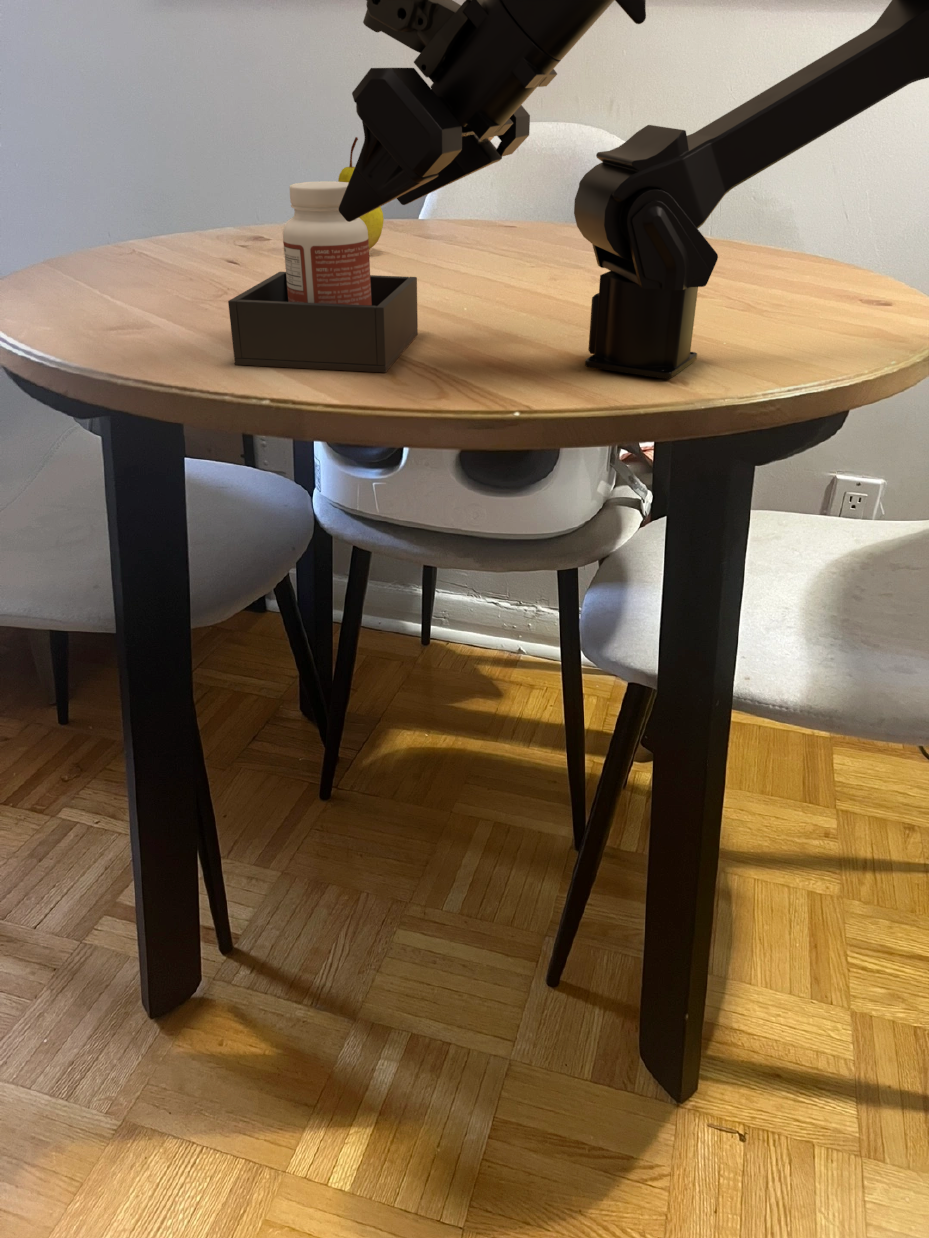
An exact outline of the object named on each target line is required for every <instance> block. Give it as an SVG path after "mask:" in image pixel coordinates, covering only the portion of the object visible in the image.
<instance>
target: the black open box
mask: <svg viewBox="0 0 929 1238" xmlns="http://www.w3.org/2000/svg"><path fill="white" fill-rule="evenodd" d="M370 282H371V302H372V305H349V304H326V303H304V302H289V300H288V289H287V277H286V271H278V272H277V273H275V274H273V275H270V276H269V277H267V278H266V279H265V280H262V281H261V282H259V283H257V284H256V285H254V286H252V287H250V288H248V289H246V290H245V291H243V292H241V293H239V294H238V295H236V296H234V297H233V298H231V299H229V300H228V301H227V303H228V313H229V321H230V322H229V323H230V332H231V340H232V349H233V350H232V351H233V358H234V365H235V366H254V367H270V368H271V367H274V368H289V369H291V368H292V369H310V370H327V371H329V370H330V371H345V372H346V371H349V372H364V373H381V374H382V373H385V374H386V373H387V372H388V370H389V369H390V368H391V367H393V365H394V363H395V362H396V361H397V360H398V359H399V357H400V356H401V355H402V354H403V353H404V352H405V351H406V349H407V348H408V347H409V346H410V344H412V343H413V341H414V340H415V339H416V338H417V337H418V334H419V328H418V327H419V326H418V323H419V321H418V320H419V319H418V277H417V276H403V275H401V276H400V275H376V274H375V275H374V274H370Z"/></svg>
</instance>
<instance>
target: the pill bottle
mask: <svg viewBox="0 0 929 1238" xmlns="http://www.w3.org/2000/svg"><path fill="white" fill-rule="evenodd" d="M347 186H348V182H338V181H333V180H332V181H329V180H328V181H305V182H296V183H292V184H289V199H290V200H289V202H290V208H292V209H293V210H294V214H293V216H292V217H291V218H289V219H288V220H287V221H286V222H285V224H284V225H283V228H282V243H283V254H284V265H285V266H284V267H285V272H286V277H287V289H288V300H289V302H304V303H326V304H349V305H372V302H371V282H370V275H371V264H370V262H371V261H370V249H369V240H368V230H367V227H366V225H365V223H364V222H363V221H362V220H361V219H360V218H357V219H355V220H353V221H351V222H348V221H346V219H345V218H344V217H343V216H342V215H341V214H340V212H339V206H340V203H341V201H342V198H343V196H344V193H345V191H346V188H347Z"/></svg>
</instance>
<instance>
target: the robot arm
mask: <svg viewBox="0 0 929 1238" xmlns="http://www.w3.org/2000/svg"><path fill="white" fill-rule="evenodd" d="M365 1H366V12H365V15H364V18H363V21H362V23H363V25H364V26H365V27H366V28H368V29H370V30H371V31H373V32H375V33H380V32H381V33H383V34H385V35H387V36H388V37H390V38H392V39H394V40H395V41H397V42H399V43H401V44H402V45H404V46H406V47H408V48H409V49H411V50H413V51H415V52H417V53H419V54H418V56H416V58H415V59H414V60H413V64H414V65H415V67H417V69H418V70H419V71H420V72H421V73H422V75H423V76H424V77H425V78H428V79H429V80H430V81H431V82H432V84H431V85H429V84H428V83H427V82H426V81H425V79H424V78H423V76H421V74H420V73H419V72H418V71H417V70H416V68H415V67H371V68H370V69H368V71H367V72H366V74H365V75H364V76H363V78H362V79H360V82H358V84H357V85H356V87H355V88H354V90H353V91H352V92H351V95H352V98H353V102H354V103H355V109H356V111H355V112H356V114H357V116H358V117H359V119H360V120H361V123H362V129H363V136H364V140H363V144H362V147H361V150H360V152H359V155H358V158H357V161H356V163H355V166H354V167H355V168H354V171H353V173H352V176H351V178H350V181H349V183H348V186H347V188H346V191H345V193H344V196H343V198H342V201H341V203H340V206H339V212H340V214H341V215H342V216H343V217H344V218H345V219H346V221H348V222H351V221H353V220H355V219H357V218H359V217H361V216H363V215H365V214H367V213H369V212H371V211H373V210H375V209H377V208H379V207H381V208H382V206H385V205H387V204H388V203H390V202H392V201H394V200H397V201H398V202H399V204H401V205H402V206H406V205H408V204H410V203H413V202H414V201H416V200H419V199H422V198H423V197H425V196H427V195H430V194H431V193H434V192H436V191H437V190H440V189H442V188H444V187H446V186H448V185H450V184H452V183H455V182H457V181H459V180H461V179H463V178H465V177H467V176H470V175H472V174H474V173H477V172H478V171H480V170H482V169H484V168H486V167H489V166H491V165H493V164H496V163H498V162H500V161H501V160H502V159H503V158H504V157H507V156H510V155H513V154H514V153H515V152H516V151H517V149H518V148H519V147H520V146H521V145H522V144H523V143H524V142H525V140H527V139H528V137H529V136H530V130H531V129H530V126H531V122H530V121H531V115H530V113H529V112H528V110H527V109H525V107H524V105H523V104H524V103H525V102H526V101H527V100H528V98H529V97H530V95H532V94H533V93H534V91H535V90H536V89H537V88H543V87H547V86H548V85H549V84H550V83H551V82H552V81H553V80H554V79H555V78H556V77H557V75H558V73H557V71H556V70H555V68H556V67H557V66H558V65H559V63H560V62H561V61H562V60H563V59H564V58H565V56H566V55H568V53H569V52H570V51H571V50H572V49H573V48H574V46H576V44H577V43H578V42H579V41H580V39H582V37H584V35H585V34H586V33H587V32H588V31H589V29H591V27H592V26H593V25H594V24H595V23H596V22H597V21H598V19H600V18H601V16H602V15H603V14H604V13H605V12H606V10H607V9H608V8H609V7H610V6H611V5H612V4H613V3H614V2H616V4H618V6H619V7H620V8H621V9H622V10H623V11H624V13H625V14H626V16H628V18H630V19H631V21H632V22H633V23H635V24H636V25H642V24H644V23H645V21H646V19H647V11H646V8H647V7H646V6H647V5H646V4H647V3H646V2H647V1H646V0H464V1H463V3H462V4H460V3H459V2H456V1H455V0H365ZM925 79H929V0H891V1H890V2H889V4H888V5H887V6H886V8H885V9H884V11H883V12H882V13H881V15H880V16H879V17H878V19H877V20H876V22H874V23H873V25H871V26H870V27H869V28H867V29H866V30H864V31H863V32H861V33H860V34H858V35H855V36H854V37H853V38H851V39H849V40H848V41H846V42H845V43H843V44H841V45H840V46H838V47H836V48H835V49H832V50H831V51H829V52H828V53H826V54H824V55H822V56H821V57H819V58H817V59H815V60H814V61H813V62H811V63H809V64H807V65H806V66H804V67H802V68H801V69H799V70H797V71H795V72H794V73H792V74H791V75H789V76H787V77H786V78H784V79H782V80H780V81H779V82H777V83H776V84H774V85H772V86H770V87H768V88H767V89H765V90H764V91H762V92H760V93H758V94H757V95H755V96H753V97H752V98H750V99H749V100H747V101H745V102H744V103H742V104H740V105H738V106H737V107H734V109H732V110H730V111H728V112H727V113H725V114H723V115H722V116H720V117H718V118H717V119H715V120H713V121H711V122H710V123H707V124H706V125H705V126H703V127H701V128H700V129H698V130H696V131H694V132H693V133H691V134H688V135H687V130H685V129H679V128H673V127H667V126H660V125H654V124H647V125H645V126H644V127H642V128H641V129H639V130H638V131H637V132H635V133H634V134H633V135H632V136H630V137H629V138H628V139H626V141H625V142H623V143H622V144H620V145H619V146H617V147H614V148H612V149H610V150H606V151H605V150H604V151H599V152H597V153H596V155H595V157H596V159H598V160H599V161H600V163H598V164H595V166H593V167H592V168H591V169H589V170H588V171H587V172H586V173H585V174H584V175H583V176H582V178H581V179H580V181H579V182H578V187H577V191H576V195H575V197H574V203H573V204H574V205H573V206H574V207H573V216H574V219H575V223H576V227H577V229H578V231H579V232H580V234H581V235H582V237H583V238H585V239H586V240H587V241H588V242H589V243H590V244H592V248H593V253H594V256H595V260H596V263H597V264H596V265H597V267H600V268H601V269H606V270H608V271H607V272H605V273H602V274H600V275H599V284H598V287H599V288H598V293H595V294H594V295H593V296H592V297H591V306H590V307H591V308H590V321H589V335H588V348H587V350H588V352H589V353H590V354H591V355H590V356H588V357H587V358H585V359H584V367H586V368H589V369H591V368H592V369H598V370H603V371H604V370H605V371H610V372H611V371H612V372H618V373H624V374H629V375H630V374H631V375H635V376H636V375H637V376H643V377H650V378H655V379H657V378H658V379H663V380H664V379H665V380H666V379H667V380H669V379H672V378H673V377H675V376H676V375H678V374H679V373H680V372H682V371H683V370H684V369H686V368H687V367H688V366H690V365H691V364H692V363H694V362H695V361H697V359H698V353H697V352H696V351H691V349H692V342H693V333H694V324H695V316H696V307H697V301H698V291H699V288H704V287H706V286H707V285H708V282H709V280H710V278H711V277H712V273H713V271H714V269H715V266H716V264H717V262H718V259H719V255H718V253H717V252H716V250H715V248H713V247H712V245H711V244H710V242H708V240H707V239H706V237H705V236H704V235H703V234H702V232H701V231H700V230H699V229H700V228H701V227H702V226H703V225H704V224H705V223H706V221H707V220H708V218H710V216H711V215H712V213H713V212H714V210H715V209H716V208H717V206H718V205H719V203H720V202H721V201H722V200H723V199H724V197H725V196H726V195H727V194H728V193H729V192H730V191H731V190H733V189H735V188H736V187H738V186H739V185H741V184H743V183H744V182H745V181H748V180H750V179H751V178H753V177H754V176H756V175H758V174H760V173H761V172H763V171H765V170H766V169H768V168H770V167H771V166H773V165H775V164H777V163H778V162H780V161H781V160H784V159H786V158H787V157H788V156H790V155H792V154H793V153H795V152H798V150H800V149H802V148H804V147H806V146H807V145H809V144H810V143H812V142H814V141H815V140H817V139H819V138H820V137H822V136H824V135H825V134H827V133H829V132H830V131H833V130H834V129H836V128H837V127H839V126H840V125H841V126H842V125H843V124H845V123H846V122H848V121H849V120H851V119H853V118H854V117H856V116H858V115H859V114H861V113H863V112H865V111H867V110H868V109H869V108H871V107H873V106H875V105H876V104H878V103H880V102H882V101H884V100H885V99H887V98H888V97H890V96H891V95H893V94H895V93H897V92H898V91H900V90H901V89H903V88H905V87H907V86H909V85H910V84H912V83H913V84H914V83H915V82H918V81H921V80H925ZM495 137H497V138H498V139H499V140H500V142H499V144H498V146H497V147H496V146H495V145H494V144H493V142H492V140H493V139H494V138H495Z"/></svg>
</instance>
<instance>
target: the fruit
mask: <svg viewBox="0 0 929 1238" xmlns="http://www.w3.org/2000/svg"><path fill="white" fill-rule="evenodd" d="M358 141H359V137H358V136H355V138H354V140H353V143H352V145H351V148H350V154H349V155H350V156H349V166H345V167H344V168H342V169H341V171H340V173H339V175H338V180H337V182H348V183H349V181H350V178H351V176H352V173H353V171H354V168H355V166H353V154H354V150H355V148H356V144H357V142H358ZM359 218H360V219H361V220H362V221H363V222H364V223H365V225H366V227H367V230H368V240H369V250H371V249H372V248H374V246H375V245H376V244H377V243H378V242H379V240H380V238H381V236H382V231H383V227H384V218H385V217H384V211H383V210H382V206H381V207H379V208H377V209H375V210H373V211H371V212H369V213H367V214H365V215H363V216H361V217H359Z"/></svg>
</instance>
